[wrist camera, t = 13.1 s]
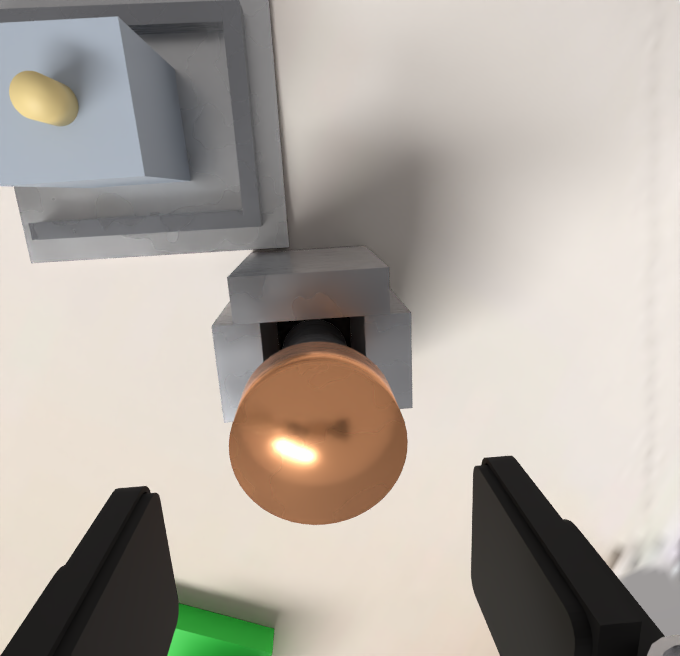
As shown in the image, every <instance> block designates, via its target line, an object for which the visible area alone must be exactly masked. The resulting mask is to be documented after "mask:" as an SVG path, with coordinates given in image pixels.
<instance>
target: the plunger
mask: <svg viewBox="0 0 680 656" xmlns="http://www.w3.org/2000/svg"><path fill="white" fill-rule="evenodd" d="M407 442H408V441H407V431H406V426H405V422H404V419H403V417H402V414H401V412H400V409H399V407H398V405H397V402H396V400H395V397H394V395H393V393H392V390H391V388H390V386H389V383H388V381H387V380H386V378H385V376H384V374H383V373H382V372H381V371H380V369H379V368H378V367H377V366H376V365H375V364H374V363H373V362H372V361H371V360H370V359H368V358H367V357H366V356H364V355H363V354H361V353H360V352H358V351H356V350H354V349H352V348H349V347H347V345H346V341H345V338H344V336H343V334H342V333H341V332H340V330H339V329H338V328H337V327H335V326H334V325H333V324H331V323H329V322H327V321H323V320H317V319H312V320H307V321H303V322H301V323H299V324H297V325H296V326H295V327H293V328H292V329H291V330H290V331H289V333H288V334H287V336H286V338H285V340H284V344H283V349H282V350H280V351H279V352H277V353H275V354H273V355H272V356H270V357H269V358H268V359H266V360H265V361H264V362H263V363H262V364H261V365H260V366H259V367H258V368H257V369H256V370H255V372H254V373H253V374H252V375H251V377H250V379H249V380H248V382H247V384H246V386H245V388H244V391H243V393H242V396H241V399H240V402H239V406H238V409H237V412H236V415H235V418H234V421H233V424H232V428H231V432H230V439H229V455H230V460H231V465H232V468H233V471H234V474H235V476H236V478H237V480H238V482H239V484H240V486H241V487H242V488H243V490H244V491H245V492H246V494H247V495H248V496H249V497H250V498H251V499H252V500H253V501H254V502H255V503H256V504H258V505H259V506H260V507H261V508H263V509H264V510H266V511H268V512H269V513H271V514H273V515H275V516H277V517H279V518H282V519H285V520H288V521H291V522H296V523H301V524H311V525H321V524H331V523H337V522H341V521H345V520H348V519H350V518H353V517H356V516H358V515H360V514H362V513H364V512H365V511H367V510H369V509H370V508H372V507H373V506H375V505H376V504H377V503H378V502H379V501H380V500H382V499H383V498H384V497H385V496H386V495H387V493H388V492H389V491H390V490H391V489H392V487H393V486H394V484H395V483H396V481H397V480H398V478H399V476H400V474H401V472H402V469H403V466H404V463H405V459H406V454H407Z"/></svg>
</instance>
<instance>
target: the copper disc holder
mask: <svg viewBox="0 0 680 656" xmlns="http://www.w3.org/2000/svg"><path fill="white" fill-rule="evenodd" d="M227 279H228V288H229V296H230V302H229V303H228V304H227V306H226V307H225V308H224V310H223V311H222V313H221V314H220V315H219V317H218V318H217V319H216V321H215V322H214V324H213V325H212V333H213V341H214V349H215V356H216V364H217V372H218V379H219V387H220V394H221V402H222V410H223V417H224V423H225V422H233V421H234V418H235V415H236V412H237V409H238V406H239V402H240V399H241V396H242V393H243V391H244V388H245V386H246V384H247V382H248V380H249V379H250V377H251V375H252V374H253V373H254V372H255V370H256V369H257V368H258V367H259V366H260V365H261V364H262V363H263V362H264V361H265V360H266V359H268V358H269V357H270V356H272V355H273V354H275V353H277V352H279V351H280V350H279V339H278V328H277V322H280V321H295V320H309V319H324V318H338V317H350V326H351V346H352V349H354V350H356V351H358V352H360V353H361V354H363V355H364V356H366V357H367V358H368V359H370V360H371V361H372V362H373V363H374V364H375V365H376V366H377V367H378V368H379V369H380V371H381V372H382V373H383V374H384V376H385V378H386V380H387V381H388V383H389V386H390V388H391V390H392V393H393V395H394V397H395V400H396V402H397V405H398V407H399V409H404V408H412V350H411V312H410V311H409V310H408V309H407V307H406V306H405V305H404V304H403V303H402V302H401V300H400V299H399V298H398V297H397V296H396V295H395V294H394V292H393V291H392V290H391V289H390V286H389V267H388V266H387V265H386V264H385V263H384V262H383V261H382V260H380V259H379V258H378V257H377V256H376V255H375V254H374V253H373V252H372V251H371V250H369V249H368V248H367V247H366V246H353V247H337V248H321V249H304V250H288V251H272V252H256V253H251V254H250V255H249V256H248V257H247V258H246V259H245V260H244V261H243V262H242V263H241V264H240V265H239V266H238V267H237V268H236V269H235V270H234V271H233V272H232V273H231V274H230V275H229V276H228V277H227Z"/></svg>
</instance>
